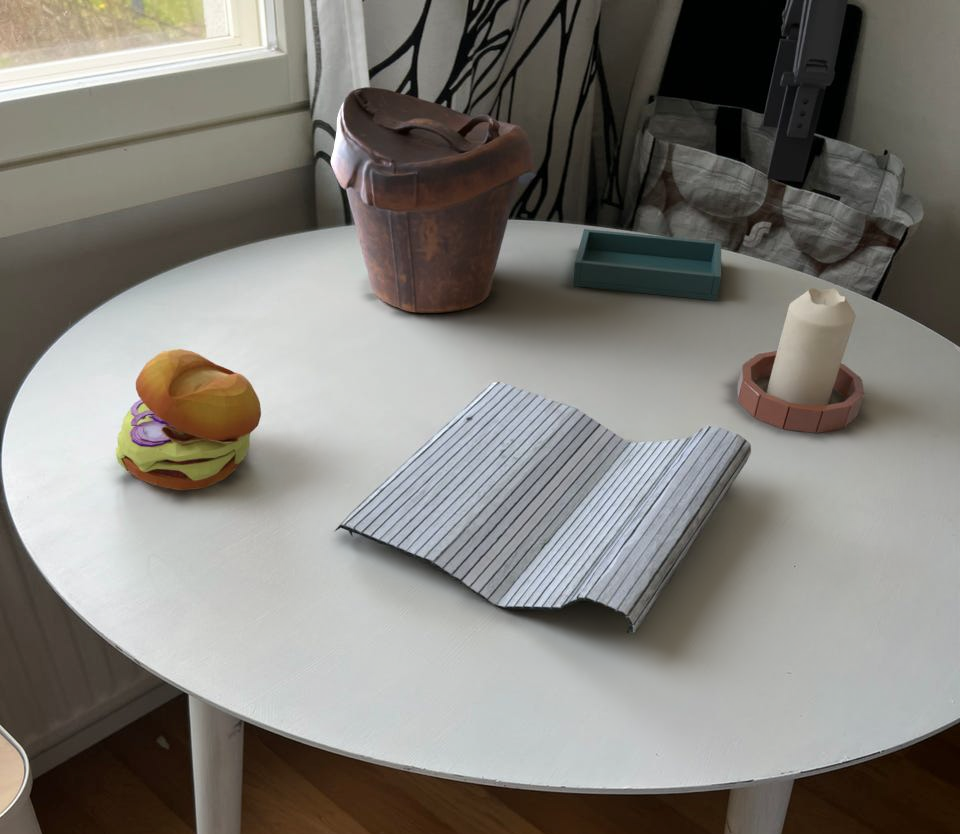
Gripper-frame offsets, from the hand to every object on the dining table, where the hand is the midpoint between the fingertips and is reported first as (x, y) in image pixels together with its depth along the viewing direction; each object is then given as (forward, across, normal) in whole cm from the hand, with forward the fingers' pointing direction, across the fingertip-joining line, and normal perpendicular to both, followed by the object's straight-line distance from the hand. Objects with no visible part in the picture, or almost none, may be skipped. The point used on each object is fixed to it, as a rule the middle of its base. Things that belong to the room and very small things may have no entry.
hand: (780, 151), depth 79 cm
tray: (+19, -17, -9) cm, 27 cm away
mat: (+19, +29, -14) cm, 37 cm away
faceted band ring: (+19, +7, +6) cm, 21 cm away
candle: (+19, +7, +6) cm, 21 cm away
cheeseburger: (+19, +28, -43) cm, 55 cm away
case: (+19, -8, -31) cm, 38 cm away
